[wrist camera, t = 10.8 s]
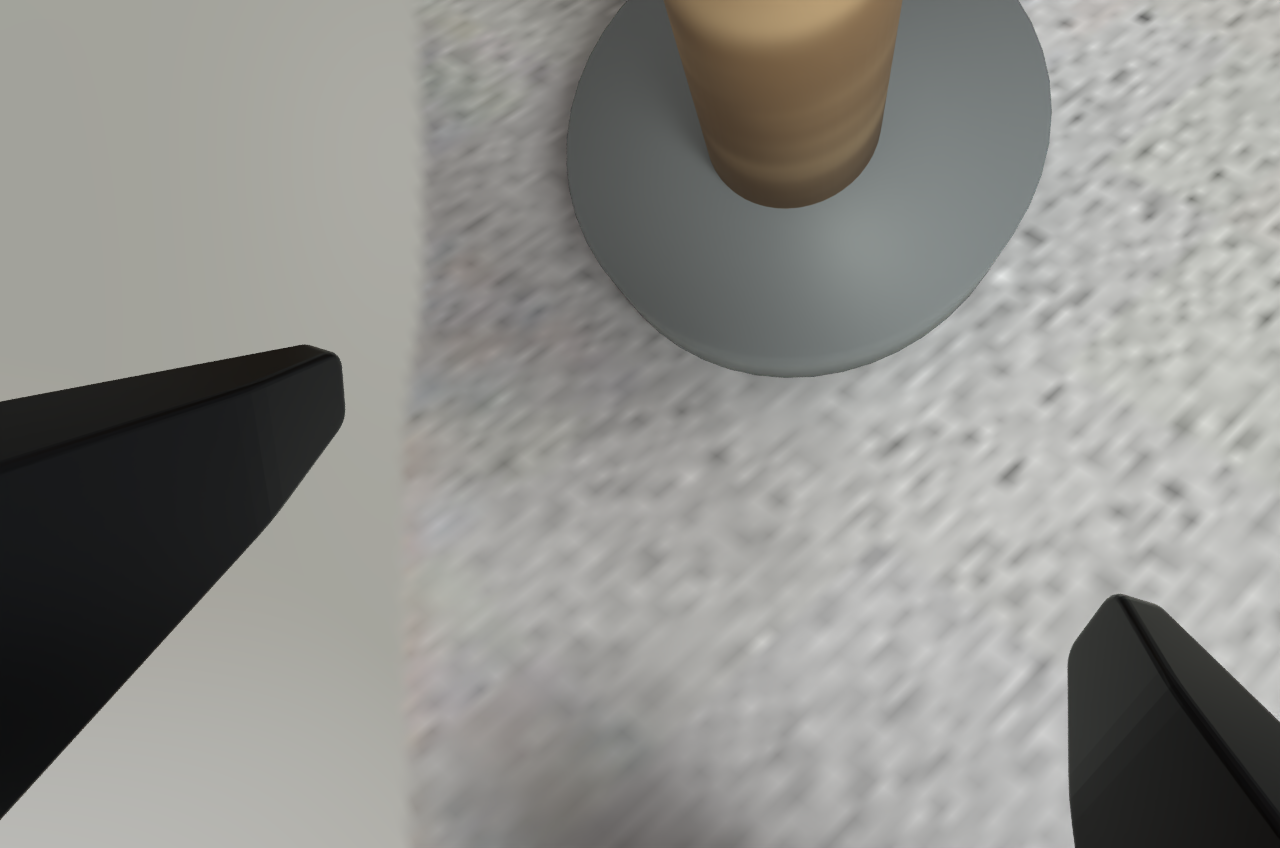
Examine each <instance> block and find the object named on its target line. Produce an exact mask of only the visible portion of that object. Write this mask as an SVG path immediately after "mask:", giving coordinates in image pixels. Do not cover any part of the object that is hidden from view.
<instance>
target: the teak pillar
mask: <svg viewBox="0 0 1280 848" xmlns="http://www.w3.org/2000/svg"><path fill="white" fill-rule="evenodd" d="M664 3H665V7H666V10H667V14H668V17H669V20H670V24H671V27H672V31H673V34H674V37H675V41H676V44H677V48H678V51H679V55H680V58H681V61H682V65H683V68H684V72H685V75H686V78H687V82H688V85H689V89H690V92H691V95H692V99H693V102H694V106H695V109H696V112H697V116H698V119H699V123H700V126H701V129H702V133H703V136H704V140H705V143H706V146H707V150H708V153H709V157H710V160H711V162H712V165H713V167H714V169H715V171H716V172H717V174H718V175H719V177H720V178H721V180H722V181H723V182H724V183H725V184H726V185H727V186H728V187H729V188H730V189H731V190H732V191H734V192H735V193H736V194H738V195H739V196H741V197H742V198H744V199H746V200H748V201H750V202H753V203H755V204H759V205H762V206H765V207H772V208H783V209H789V208H800V207H805V206H809V205H813V204H816V203H819V202H822V201H824V200H826V199H828V198H830V197H832V196H834V195H836V194H837V193H839V192H840V191H842V190H844V189H845V188H846V187H847V186H848V185H850V184H851V183H852V182H853V181H854V180H855V179H856V178H857V177H858V176H859V175H860V174H861V173H862V171H863V170H864V169H865V167H866V166H867V165H868V163H869V161H870V159H871V158H872V156H873V154H874V152H875V149H876V147H877V144H878V141H879V137H880V133H881V127H882V121H883V115H884V109H885V103H886V97H887V91H888V85H889V79H890V73H891V67H892V60H893V54H894V48H895V42H896V36H897V30H898V24H899V18H900V12H901V6H902V0H664Z"/></svg>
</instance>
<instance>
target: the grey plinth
mask: <svg viewBox="0 0 1280 848" xmlns="http://www.w3.org/2000/svg"><path fill="white" fill-rule="evenodd" d="M1051 114H1052V109H1051V94H1050V80H1049V76H1048V71H1047V67H1046V63H1045V58H1044V54H1043V50H1042V47H1041V45H1040V42H1039V40H1038V37H1037V35H1036V32H1035V30H1034V27H1033V25H1032V22H1031V21H1030V19H1029V17H1028V16H1027V14H1026V12H1025V11H1024V9H1023V7H1022V6H1021V4H1020V2H1019V1H1018V0H902V6H901V12H900V18H899V24H898V30H897V36H896V42H895V48H894V54H893V60H892V67H891V73H890V79H889V85H888V91H887V97H886V103H885V109H884V115H883V121H882V127H881V133H880V137H879V141H878V144H877V147H876V149H875V152H874V154H873V156H872V158H871V159H870V161H869V163H868V165H867V166H866V167H865V169H864V170H863V171H862V173H861V174H860V175H859V176H858V177H857V178H856V179H855V180H854V181H853V182H852V183H851V184H850V185H848V186H847V187H846V188H845V189H844V190H842V191H840V192H839V193H837V194H836V195H834V196H832V197H830V198H828V199H826V200H824V201H822V202H819V203H816V204H813V205H809V206H805V207H800V208H789V209H783V208H772V207H765V206H762V205H759V204H755V203H753V202H750V201H748V200H746V199H744V198H742V197H741V196H739V195H738V194H736V193H735V192H734V191H732V190H731V189H730V188H729V187H728V186H727V185H726V184H725V183H724V182H723V181H722V180H721V178H720V177H719V175H718V174H717V172H716V171H715V169H714V167H713V165H712V162H711V160H710V157H709V153H708V150H707V146H706V143H705V140H704V136H703V133H702V129H701V126H700V123H699V119H698V116H697V112H696V109H695V106H694V102H693V99H692V95H691V92H690V89H689V85H688V82H687V78H686V75H685V72H684V68H683V65H682V61H681V58H680V55H679V51H678V48H677V44H676V41H675V37H674V34H673V31H672V27H671V24H670V20H669V17H668V14H667V10H666V7H665V3H664V0H628V1H627V2H626V3H625V4H624V5H623V6H622V7H621V8H620V10H619V11H618V13H617V14H616V15H615V17H614V18H613V19H612V21H611V22H610V24H609V25H608V26H607V28H606V29H605V30H604V32H603V34H602V35H601V37H600V39H599V41H598V42H597V44H596V46H595V48H594V50H593V51H592V53H591V55H590V57H589V59H588V62H587V64H586V66H585V69H584V71H583V73H582V76H581V78H580V81H579V83H578V87H577V90H576V94H575V98H574V101H573V105H572V108H571V114H570V121H569V127H568V134H567V172H568V181H569V189H570V194H571V198H572V202H573V206H574V210H575V214H576V217H577V220H578V222H579V224H580V227H581V229H582V232H583V234H584V237H585V239H586V242H587V243H588V245H589V247H590V248H591V250H592V252H593V254H594V255H595V257H596V259H597V260H598V262H599V264H600V265H601V267H602V268H603V269H604V271H605V272H606V273H607V274H608V276H609V277H610V278H611V279H612V281H613V282H614V283H615V284H616V286H617V287H618V288H619V289H620V290H621V292H622V293H623V294H624V295H625V296H626V298H627V299H628V300H629V301H630V302H631V303H632V305H633V306H634V307H635V308H636V309H637V311H638V312H639V313H640V314H641V315H642V316H643V317H644V318H645V319H646V320H647V321H648V322H649V323H650V324H651V325H652V326H653V327H654V328H655V329H656V330H658V331H659V332H660V333H661V334H662V335H664V336H665V337H667V338H668V339H669V340H671V341H672V342H674V343H675V344H676V345H678V346H679V347H681V348H682V349H684V350H686V351H688V352H690V353H692V354H694V355H696V356H698V357H700V358H701V359H703V360H706V361H708V362H711V363H714V364H717V365H719V366H722V367H725V368H728V369H731V370H736V371H740V372H745V373H749V374H754V375H760V376H771V377H783V378H789V377H814V376H820V375H826V374H832V373H838V372H844V371H847V370H850V369H854V368H857V367H861V366H864V365H867V364H871V363H873V362H875V361H878V360H880V359H882V358H885V357H887V356H889V355H891V354H894V353H896V352H898V351H900V350H902V349H903V348H905V347H907V346H908V345H910V344H912V343H913V342H915V341H917V340H919V339H920V338H922V337H924V336H925V335H926V334H928V333H929V332H930V331H931V330H933V329H934V328H935V327H937V326H938V325H939V324H940V323H942V322H943V321H944V320H946V319H947V318H948V317H949V316H950V315H951V314H952V313H953V312H954V311H955V310H956V309H957V308H958V307H959V306H960V305H961V304H962V303H963V302H964V301H965V300H966V299H967V298H968V297H969V296H970V294H971V293H972V292H973V291H974V289H975V288H976V287H977V285H978V284H979V283H980V281H981V280H982V279H983V277H984V276H985V275H986V273H987V272H988V271H989V269H990V268H991V266H992V265H993V263H994V262H995V260H996V259H997V257H998V256H999V254H1000V253H1001V251H1002V250H1003V249H1004V247H1005V246H1006V244H1007V243H1008V241H1009V240H1010V238H1011V237H1012V235H1013V234H1014V232H1015V230H1016V228H1017V227H1018V225H1019V223H1020V221H1021V220H1022V218H1023V216H1024V214H1025V212H1026V211H1027V209H1028V207H1029V205H1030V203H1031V200H1032V198H1033V195H1034V193H1035V190H1036V188H1037V185H1038V183H1039V180H1040V177H1041V175H1042V171H1043V167H1044V162H1045V158H1046V154H1047V150H1048V145H1049V138H1050V126H1051Z"/></svg>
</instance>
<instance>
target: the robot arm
mask: <svg viewBox="0 0 1280 848" xmlns="http://www.w3.org/2000/svg"><path fill="white" fill-rule="evenodd" d="M344 415H345V400H344V388H343V374H342V365H341V361H340V359H339V357H338V356H337V355H336V354H335V353H333V352H330V351H327V350H323V349H320V348H317V347H314V346H310V345H298V346H293V347H288V348H283V349H277V350H271V351H266V352H262V353H256V354H250V355H245V356H240V357H235V358H229V359H224V360H219V361H214V362H208V363H203V364H197V365H192V366H187V367H181V368H176V369H171V370H166V371H160V372H156V373H150V374H144V375H139V376H134V377H128V378H123V379H118V380H113V381H107V382H102V383H97V384H91V385H86V386H81V387H76V388H70V389H65V390H60V391H54V392H49V393H44V394H38V395H33V396H28V397H22V398H18V399H12V400H7V401H2V402H0V820H1V818H2V817H3V816H4V815H5V814H6V813H7V812H8V811H9V810H10V808H12V806H13V805H14V804H15V803H16V802H17V801H18V800H19V799H20V798H21V797H22V795H23V794H24V793H25V792H26V791H27V790H28V789H29V788H30V787H31V785H32V784H33V783H34V782H35V781H36V780H37V779H38V778H39V776H41V774H42V773H43V772H44V771H45V770H46V769H47V768H48V767H49V766H50V765H51V764H52V762H53V761H54V760H55V759H56V758H57V757H58V756H59V755H60V754H61V752H62V751H63V750H64V749H65V748H66V747H67V746H68V745H69V744H70V743H71V742H72V740H73V739H74V738H75V737H76V736H77V735H78V734H79V733H80V732H81V731H82V729H83V728H84V727H85V726H86V725H87V724H88V723H89V722H90V721H91V720H92V718H93V717H94V716H95V715H96V714H97V713H98V712H99V711H100V710H101V709H102V707H103V706H104V705H105V704H106V703H107V702H108V701H109V700H110V699H111V698H112V696H113V695H114V694H115V693H116V692H117V691H118V690H119V689H120V687H122V686H123V684H124V683H125V682H126V681H127V680H128V679H129V678H130V677H131V676H132V674H133V673H134V672H135V671H136V670H137V669H138V668H139V667H140V666H141V665H142V664H143V662H144V661H145V660H146V659H147V658H148V657H149V656H150V655H151V654H152V652H153V651H154V650H155V649H156V648H157V647H158V646H159V645H160V644H161V642H162V641H163V640H164V639H165V638H166V637H167V636H168V635H169V634H170V633H171V632H172V631H173V629H174V628H175V627H176V626H177V625H178V624H179V623H180V622H181V620H183V618H184V617H185V616H186V615H187V614H188V613H189V612H190V611H191V610H192V609H193V607H194V606H195V605H196V604H197V603H198V602H199V601H200V600H201V599H202V598H203V596H204V595H205V594H206V593H207V592H208V591H209V590H210V589H211V588H212V587H213V585H214V584H215V583H216V582H217V581H218V580H219V579H220V578H221V577H222V576H223V574H224V573H225V572H226V571H227V570H228V569H229V568H230V567H231V566H232V564H233V563H234V562H235V561H236V560H237V559H238V558H239V557H240V556H241V555H242V554H243V552H244V551H245V550H246V549H247V548H248V547H249V546H250V545H251V544H252V542H253V541H254V540H255V539H256V538H257V537H258V536H259V535H260V534H261V532H262V531H263V530H264V529H265V528H266V527H267V526H268V524H269V523H270V522H271V521H272V519H273V518H274V517H275V516H276V515H277V513H278V512H279V511H280V509H281V508H282V507H283V506H284V504H285V503H286V502H287V500H288V499H289V497H290V496H291V495H292V493H293V492H294V491H295V489H296V488H297V487H298V485H299V484H300V482H301V481H302V480H303V478H304V477H305V475H306V474H307V473H308V472H309V470H310V469H311V467H312V466H313V465H314V463H315V462H316V460H317V459H318V458H319V456H320V455H321V454H322V452H323V451H324V450H325V448H326V447H327V446H328V444H329V443H330V441H331V440H332V439H333V437H334V436H335V434H336V433H337V432H338V430H339V429H340V427H341V425H342V423H343V420H344ZM1068 773H1069V800H1070V809H1071V819H1072V828H1073V835H1074V843H1075V848H1280V722H1279V721H1278V720H1277V719H1276V718H1275V717H1274V716H1273V715H1272V714H1271V713H1270V712H1269V711H1268V710H1267V709H1266V708H1265V707H1264V706H1263V705H1262V704H1261V703H1260V702H1259V701H1258V700H1257V699H1255V698H1254V697H1253V696H1252V695H1251V694H1250V693H1249V692H1248V691H1247V690H1246V689H1245V688H1244V687H1243V686H1242V685H1241V684H1240V683H1239V682H1238V681H1237V680H1236V679H1235V678H1234V677H1233V676H1232V675H1231V674H1230V673H1229V672H1228V671H1227V670H1226V669H1225V668H1223V667H1222V666H1221V665H1220V664H1219V663H1218V662H1217V661H1216V660H1215V659H1214V658H1213V657H1212V656H1211V655H1210V654H1209V653H1208V652H1207V651H1206V650H1205V649H1204V648H1203V647H1202V646H1201V645H1200V644H1199V643H1198V642H1197V641H1196V640H1195V639H1194V638H1192V637H1191V636H1190V635H1189V634H1188V633H1187V632H1186V631H1185V630H1184V629H1183V628H1182V627H1181V626H1180V625H1179V624H1178V623H1177V622H1176V621H1175V620H1174V619H1173V618H1172V617H1171V616H1170V615H1169V614H1168V613H1167V612H1166V611H1165V610H1164V609H1162V608H1161V607H1160V606H1158V605H1156V604H1153V603H1150V602H1147V601H1143V600H1140V599H1137V598H1134V597H1130V596H1127V595H1124V594H1115V595H1112V596H1110V597H1109V598H1107V599H1106V600H1105V601H1104V603H1103V604H1102V605H1101V607H1100V608H1099V609H1098V611H1097V612H1096V613H1095V615H1094V616H1093V617H1092V619H1091V620H1090V622H1089V623H1088V624H1087V626H1086V627H1085V628H1084V630H1083V631H1082V632H1081V634H1080V635H1079V637H1078V638H1077V639H1076V641H1075V642H1074V644H1073V646H1072V648H1071V650H1070V654H1069V658H1068Z"/></svg>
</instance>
